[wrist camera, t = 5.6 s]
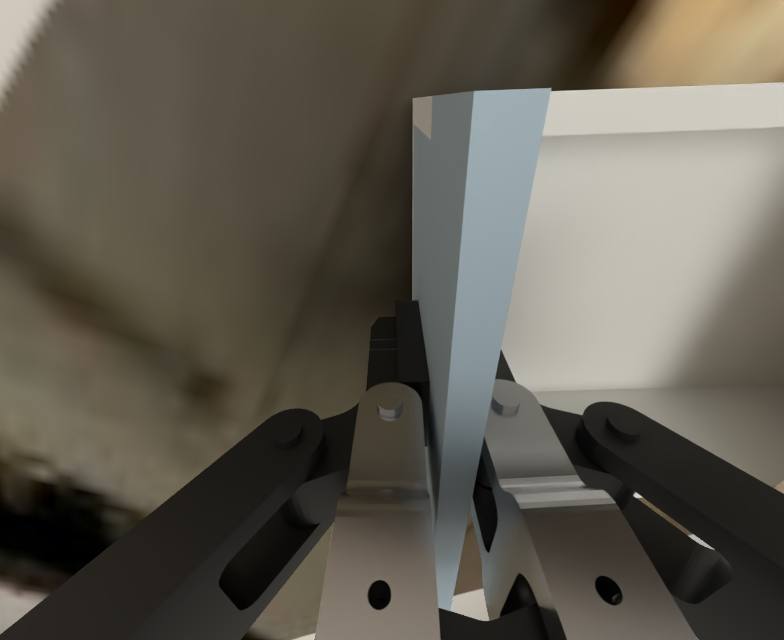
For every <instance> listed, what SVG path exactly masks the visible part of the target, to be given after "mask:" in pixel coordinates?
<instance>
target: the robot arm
mask: <svg viewBox="0 0 784 640" xmlns="http://www.w3.org/2000/svg"><path fill="white" fill-rule="evenodd" d="M370 340H371V341H370V351H369V363H368V376H367V388H366V392H365V393H364V394H363V396H362V397H361V399H360V401H359V403H358V404H357V405H356V406H355V407H353V408H352V409H350V410H349V411H347V412H345V413H342V414H339V415H336V416H333V417H330V418H326V419H323V420H320V418H319V417H318V416H317V415H316V414H315V413H313V412H311V411H309V410H306V409H289V410H285V411H282V412H279V413H277V414H275V415H273V416H271V417H270V418H269V419H267V420H266V421H265V422H263V423H262V424H261V425H260V426H258V427H257V428H256V429H255V430H253V431H252V432H251V433H250V434H249V435H247V436H246V437H245V438H244V439H242V440H241V441H240V442H239V443H237V444H236V445H235V446H234V447H232V448H231V449H230V450H229V451H227V452H226V453H225V454H224V455H222V456H221V457H220V458H219V459H218V460H216V461H215V462H214V463H213V464H211V465H210V466H209V467H208V468H206V469H205V470H204V471H203V472H201V473H200V474H199V475H198V476H196V477H195V478H194V479H193V480H192V481H190V482H189V483H188V484H187V485H185V486H184V487H183V488H182V489H180V490H179V491H178V492H177V493H175V494H174V495H173V496H172V497H170V498H169V499H168V500H167V501H165V502H164V503H163V504H162V505H161V506H159V507H158V508H157V509H156V510H154V511H153V512H152V513H151V514H149V515H148V516H147V517H146V518H144V519H143V520H142V521H141V522H139V523H138V524H137V525H136V526H134V527H133V528H132V529H131V530H130V531H128V532H127V533H126V534H125V535H123V536H122V537H121V538H120V539H118V540H117V541H116V542H115V543H113V544H112V545H111V546H110V547H108V548H107V549H106V550H105V551H103V552H102V553H101V554H100V555H99V556H97V557H96V558H95V559H94V560H92V561H91V562H90V563H89V564H87V565H86V566H85V567H84V568H82V569H81V570H80V571H79V572H77V573H76V574H75V575H74V576H72V577H71V578H70V579H69V580H68V581H66V582H65V583H64V584H63V585H61V586H60V587H59V588H58V589H56V590H55V591H54V592H53V593H51V594H50V595H49V596H48V597H46V598H45V599H44V600H43V601H42V602H40V603H39V604H38V605H37V606H35V607H34V608H33V609H32V610H30V611H29V612H28V613H27V614H25V615H24V616H23V617H22V618H20V619H19V620H18V621H17V622H15V623H14V624H13V625H12V626H11V627H9V628H8V629H7V630H6V631H4V632H3V633H2V634H1V635H0V640H240V639H241V638H242V637H243V636H244V634H245V633H246V632H247V631H248V629H249V628H250V627H251V626H252V624H253V623H254V622H255V621H256V619H257V618H258V617H259V615H260V614H261V613H262V612H263V610H264V609H265V608H266V607H267V605H268V604H269V603H270V602H271V600H272V599H273V598H274V597H275V595H276V594H277V593H278V591H279V590H280V589H281V588H282V586H283V585H284V584H285V583H286V581H287V580H288V579H289V578H290V576H291V575H292V574H293V573H294V571H295V570H296V569H297V567H298V566H299V565H300V564H301V562H302V561H303V560H304V559H305V557H306V556H307V555H308V554H309V552H310V551H311V550H312V549H313V547H314V546H315V545H316V544H317V542H318V541H319V540H320V538H321V537H322V536H323V535H324V533H325V532H326V531H327V530H328V528H329V527H330V526H331V525H332V523H333V522H334V524H333V531H332V537H331V543H330V549H329V555H328V561H327V567H326V573H325V580H324V586H323V592H322V598H321V604H320V610H319V616H318V623H317V629H316V635H315V639H314V640H698V639H699V640H784V494H783V493H781V492H780V491H778V490H776V489H774V488H773V487H771V486H769V485H767V484H766V483H764V482H762V481H760V480H759V479H757V478H755V477H753V476H751V475H750V474H748V473H746V472H744V471H743V470H741V469H739V468H737V467H736V466H734V465H732V464H730V463H729V462H727V461H725V460H723V459H722V458H720V457H718V456H716V455H714V454H713V453H711V452H709V451H707V450H706V449H704V448H702V447H700V446H699V445H697V444H695V443H693V442H692V441H690V440H688V439H686V438H684V437H683V436H681V435H679V434H677V433H676V432H674V431H672V430H670V429H669V428H667V427H665V426H663V425H662V424H660V423H658V422H656V421H654V420H653V419H651V418H649V417H647V416H646V415H644V414H642V413H640V412H639V411H637V410H635V409H633V408H631V407H628V406H626V405H622V404H619V403H614V402H606V401H604V402H596V403H593V404H590V405H589V406H588V407H587V408H586V409H585V410H584V413H583V415H579V414H575V413H570V412H566V411H561V410H557V409H553V408H549V407H546V406H544V405H541V404H539V402H538V400H537V399H536V397H535V396H534V395H533V394H532V393H531V392H530V391H529V390H528V389H527V388H525V387H523V386H522V385H520V384H518V383H516V381H515V379H514V377H513V374H512V372H511V370H510V368H509V366H508V363H507V361H506V359H505V357H504V354H503V352H502V350H501V351H500V356H499V361H498V366H497V372H496V377H495V382H494V387H493V392H492V397H491V403H490V408H489V413H488V418H487V423H486V428H485V434H484V439H483V444H482V449H481V454H480V459H479V465H478V470H477V475H476V480H475V485H474V490H473V496H472V501H471V506H470V511H471V515H472V519H473V524H474V528H475V532H476V537H477V541H478V546H479V550H480V555H481V561H482V574H483V588H484V595H485V601H486V606H487V611H488V616H489V620H490V621H480V620H477V619H474V618H470V617H467V616H464V615H461V614H458V613H454V612H451V611H448V610H445V609H442V608H439V607H438V596H437V582H436V567H435V553H434V539H433V525H432V511H431V501H430V494H429V493H428V486H427V472H426V456H425V447H427V438H428V415H429V393H430V378H429V371H428V364H427V357H426V350H425V343H424V336H423V330H422V323H421V316H420V309H419V302H418V300H405V301H396V317H379V318H378V319H377V320H376V322H375V323H374V324H373V326H372V327H371V338H370ZM635 493H638V494H639V495H640V496H642V497H643V498H644V499H646V500H647V501H649V502H650V503H651V504H653V505H654V506H656V507H657V508H658V509H660V510H661V511H662V512H664V513H665V514H667V515H668V516H669V517H671V518H672V519H673V520H675V521H676V522H678V523H679V524H680V525H682V526H683V527H685V528H686V529H687V530H689V531H690V532H691V533H693V534H694V535H696V536H697V537H699V538H700V539H701V540H703V541H704V542H705V543H707V544H708V545H709V546H711V547H712V548H714V549H715V550H712V549H709V548H707V547H704V546H702V545H700V544H699V543H697V542H696V541H694V540H693V539H691V538H690V537H689V536H687V535H686V534H685V533H683V532H682V531H680V530H679V529H678V528H676V527H675V526H674V525H672V524H671V523H670V522H668V521H667V520H665V519H664V518H663V517H661V516H660V515H659V514H657V513H656V512H655V511H653V510H652V509H650V508H649V507H648V506H646V505H645V504H644V503H642V502H641V501H640V500H638V499H637V498H635V497H634V496H633V495H634V494H635ZM696 637H697V638H698V639H697V638H696Z"/></svg>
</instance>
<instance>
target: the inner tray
mask: <svg viewBox="0 0 784 640" xmlns="http://www.w3.org/2000/svg"><path fill="white" fill-rule="evenodd" d="M412 300H418V302H419V309H420V316H421V323H422V330H423V336H424V343H425V350H426V357H427V364H428V371H429V378H430V393H429V415H428V438H427V447H425V456H426V472H427V486H428V493H429V494H430V501H431V511H432V525H433V539H434V553H435V567H436V582H437V596H438V607H439V608H442V609H445V610H448V611H450V609H451V604H452V599H453V594H454V588H455V583H456V578H457V573H458V568H459V563H460V558H461V552H462V547H463V542H464V537H465V532H466V527H467V521H468V516H469V511H470V506H471V501H472V496H473V490H474V485H475V480H476V475H477V470H478V465H479V459H480V454H481V449H482V444H483V439H484V434H485V428H486V423H487V418H488V413H489V408H490V403H491V397H492V392H493V387H494V382H495V377H496V372H497V366H498V361H499V356H500V351H501V350H502V352H503V354H504V357H505V359H506V361H507V363H508V366H509V368H510V370H511V372H512V374H513V377H514V379H515V381H516V383H518V384H520V385H522V386H523V387H525V388H527V389H528V390H529V391H530V392H531V393H532V394H533V395H534V396H535V397H536V399H537V400H538V402H539V404H541V405H544V406H546V407H549V408H553V409H557V410H561V411H566V412H570V413H575V414H579V415H583V413H584V410H585V409H586V408H587V407H588V406H589V405H590V404H593V403H596V402H604V401H606V402H614V403H619V404H622V405H626V406H628V407H631V408H633V409H635V410H637V411H639V412H640V413H642V414H644V415H646V416H647V417H649V418H651V419H653V420H654V421H656V422H658V423H660V424H662V425H663V426H665V427H667V428H669V429H670V430H672V431H674V432H676V433H677V434H679V435H681V436H683V437H684V438H686V439H688V440H690V441H692V442H693V443H695V444H697V445H699V446H700V447H702V448H704V449H706V450H707V451H709V452H711V453H713V454H714V455H716V456H718V457H720V458H722V459H723V460H725V461H727V462H729V463H730V464H732V465H734V466H736V467H737V468H739V469H741V470H743V471H744V472H746V473H748V474H750V475H751V476H753V477H755V478H757V479H759V480H760V481H762V482H764V483H766V484H767V485H769V486H771V487H773V488H775V487H776V486H777V485H778V484H779V483H781V482H782V481H783V480H784V82H777V83H752V84H726V85H701V86H675V87H650V88H624V89H598V90H573V91H551V88H540V89H514V90H489V91H471V92H462V93H453V94H445V95H436V96H428V97H419V98H413V197H412ZM633 496H634V497H635V498H643V497H642V496H640V495H639V494H638V493H635V494H634V495H633Z"/></svg>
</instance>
